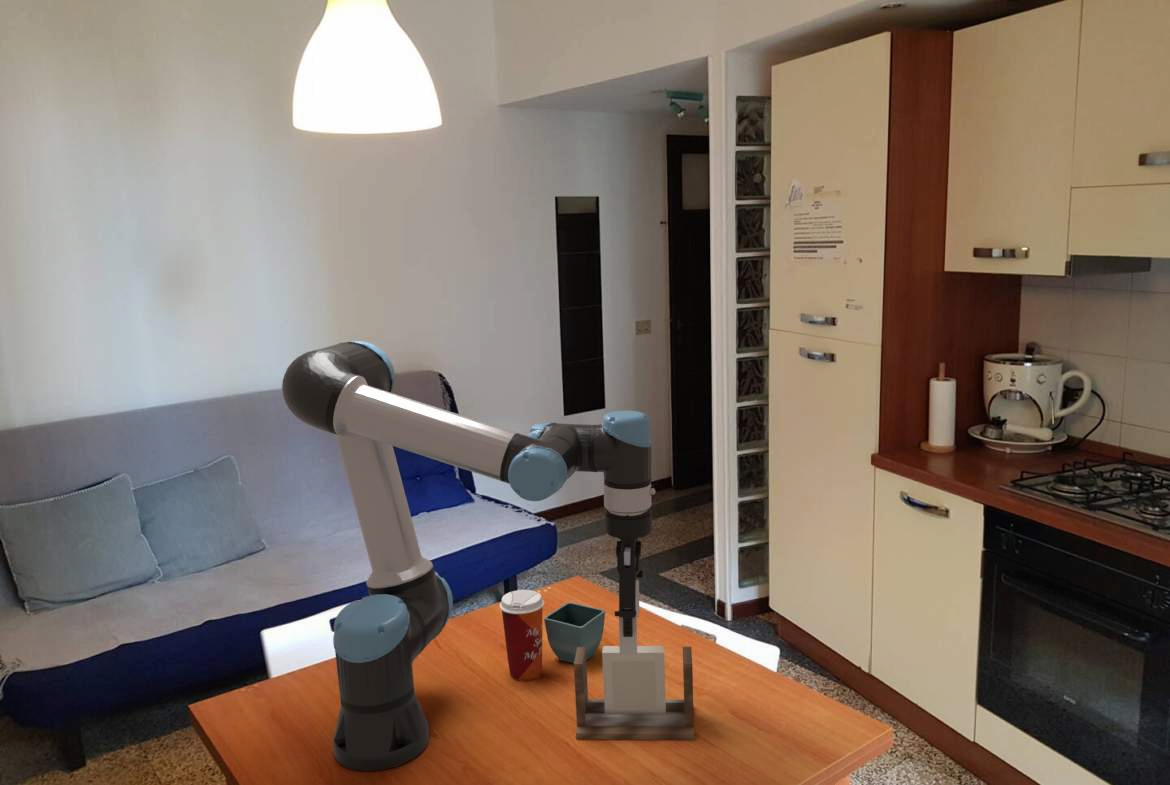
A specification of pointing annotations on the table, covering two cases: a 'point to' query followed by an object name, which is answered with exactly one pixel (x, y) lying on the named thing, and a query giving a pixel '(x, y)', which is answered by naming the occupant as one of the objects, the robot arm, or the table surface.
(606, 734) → the track
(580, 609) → the flower pot
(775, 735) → the table surface
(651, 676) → the door panel
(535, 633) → the coffee cup
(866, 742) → the table surface
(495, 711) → the table surface
